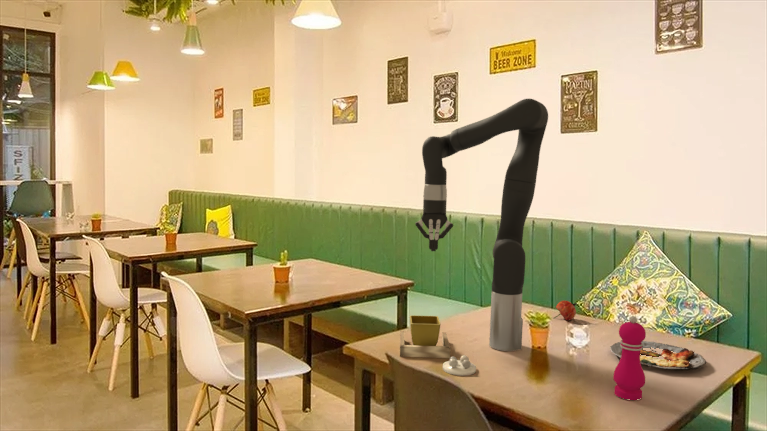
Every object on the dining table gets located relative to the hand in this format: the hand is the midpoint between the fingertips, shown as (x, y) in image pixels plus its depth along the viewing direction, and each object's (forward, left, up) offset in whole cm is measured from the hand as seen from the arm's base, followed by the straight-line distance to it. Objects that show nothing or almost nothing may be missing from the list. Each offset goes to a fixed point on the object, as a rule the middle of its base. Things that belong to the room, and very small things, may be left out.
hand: (433, 250), depth 188 cm
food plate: (-65, +21, -28) cm, 74 cm away
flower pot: (+3, +18, -27) cm, 33 cm away
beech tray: (+3, +18, -27) cm, 33 cm away
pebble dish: (-6, +35, -27) cm, 45 cm away
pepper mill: (-46, +49, -27) cm, 73 cm away
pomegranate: (-50, -20, -27) cm, 60 cm away
